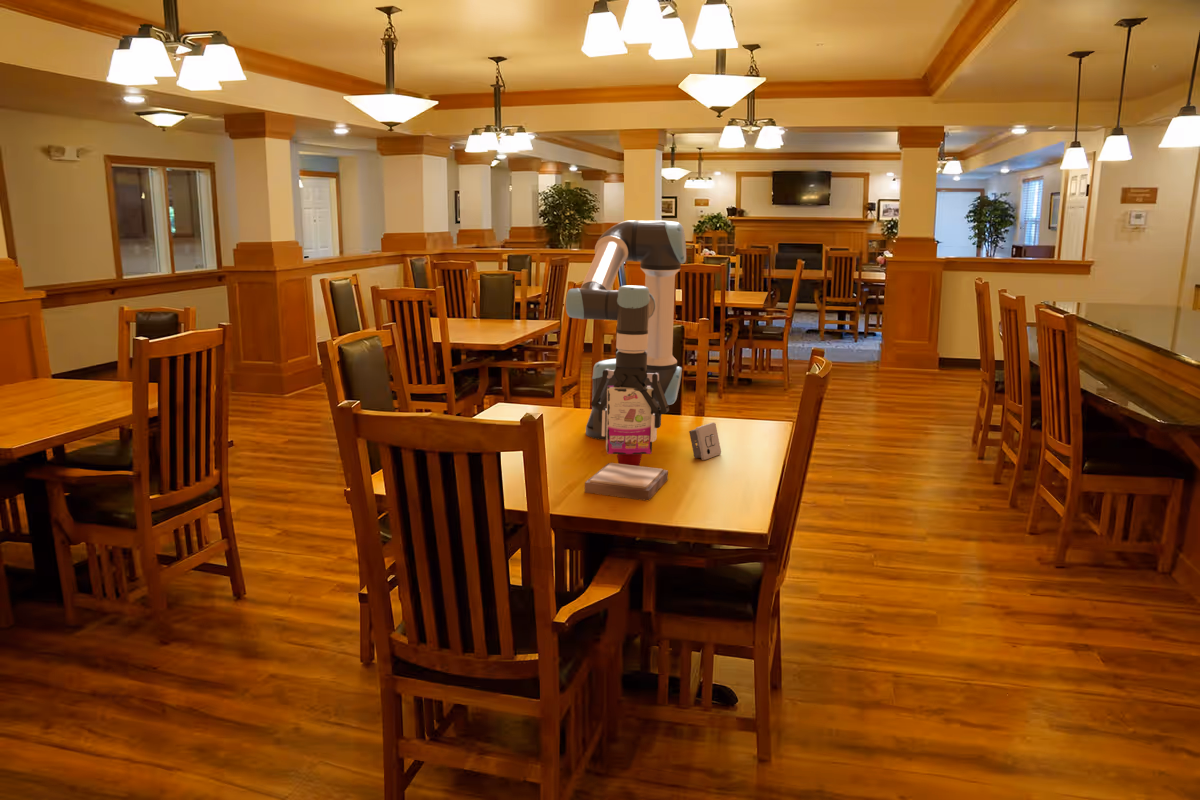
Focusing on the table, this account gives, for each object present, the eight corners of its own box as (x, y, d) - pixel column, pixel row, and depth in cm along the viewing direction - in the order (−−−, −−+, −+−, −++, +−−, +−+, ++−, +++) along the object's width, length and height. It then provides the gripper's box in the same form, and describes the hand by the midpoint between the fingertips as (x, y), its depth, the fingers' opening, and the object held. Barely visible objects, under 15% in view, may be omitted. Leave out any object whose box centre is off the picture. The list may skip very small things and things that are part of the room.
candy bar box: (649, 449, 213) (651, 384, 209) (652, 454, 208) (654, 388, 204) (604, 449, 212) (606, 384, 208) (606, 454, 207) (608, 388, 204)
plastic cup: (612, 470, 224) (614, 426, 221) (606, 459, 234) (607, 417, 232) (653, 470, 226) (655, 426, 223) (644, 458, 236) (646, 416, 234)
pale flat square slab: (608, 472, 223) (608, 461, 222) (667, 479, 218) (668, 468, 217) (584, 492, 206) (585, 480, 205) (648, 500, 201) (648, 488, 200)
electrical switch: (704, 461, 235) (703, 428, 234) (688, 459, 239) (687, 426, 237) (721, 454, 242) (720, 422, 241) (706, 453, 246) (705, 421, 244)
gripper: (684, 352, 204) (680, 439, 209) (589, 345, 212) (587, 429, 216) (676, 356, 197) (672, 446, 202) (579, 349, 205) (577, 436, 209)
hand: (628, 437), depth 209 cm, fingers closed on candy bar box, 12 cm apart
